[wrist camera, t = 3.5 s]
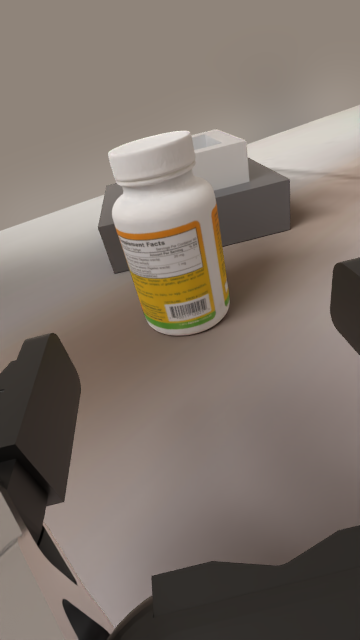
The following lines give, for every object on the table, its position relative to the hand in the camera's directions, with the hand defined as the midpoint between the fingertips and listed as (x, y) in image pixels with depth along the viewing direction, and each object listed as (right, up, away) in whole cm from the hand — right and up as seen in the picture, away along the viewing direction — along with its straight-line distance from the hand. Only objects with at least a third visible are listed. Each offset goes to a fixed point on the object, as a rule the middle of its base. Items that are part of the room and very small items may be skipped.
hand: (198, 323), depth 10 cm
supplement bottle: (0, +1, +11) cm, 11 cm away
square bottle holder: (0, +10, +24) cm, 25 cm away
